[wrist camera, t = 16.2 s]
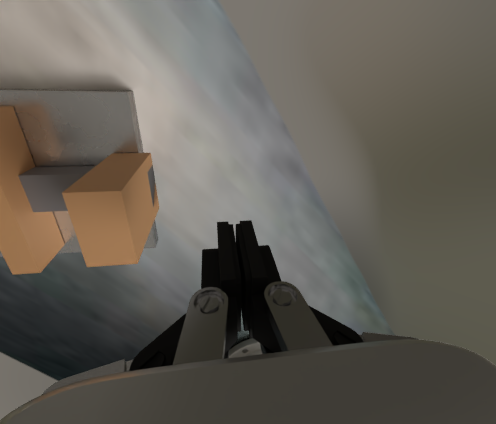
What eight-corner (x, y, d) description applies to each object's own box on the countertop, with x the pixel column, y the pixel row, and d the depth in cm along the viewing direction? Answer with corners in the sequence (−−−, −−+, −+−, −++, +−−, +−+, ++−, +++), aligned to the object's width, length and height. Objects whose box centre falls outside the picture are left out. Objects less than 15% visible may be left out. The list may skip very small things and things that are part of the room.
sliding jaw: (143, 106, 20) (106, 123, 12) (164, 239, 25) (146, 303, 18) (-19, 105, 18) (-167, 124, 11) (41, 245, 24) (-31, 318, 17)
